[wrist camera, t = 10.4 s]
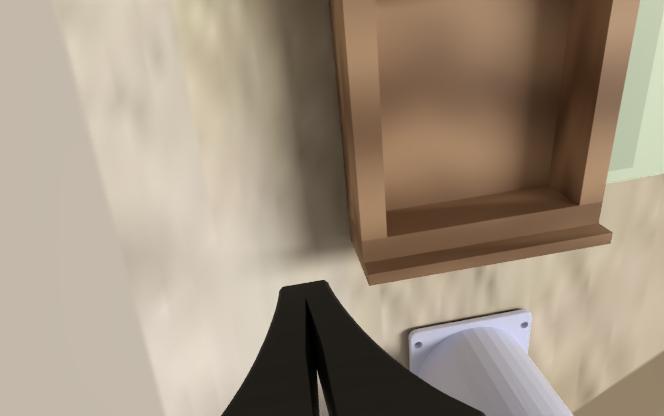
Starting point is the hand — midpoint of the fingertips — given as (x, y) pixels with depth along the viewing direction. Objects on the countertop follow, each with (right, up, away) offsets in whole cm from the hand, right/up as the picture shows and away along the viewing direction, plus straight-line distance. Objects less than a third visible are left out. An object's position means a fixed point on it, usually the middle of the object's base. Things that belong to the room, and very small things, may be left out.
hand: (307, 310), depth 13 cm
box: (+7, +9, +9) cm, 14 cm away
